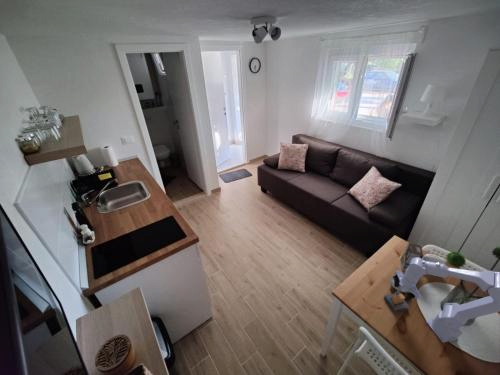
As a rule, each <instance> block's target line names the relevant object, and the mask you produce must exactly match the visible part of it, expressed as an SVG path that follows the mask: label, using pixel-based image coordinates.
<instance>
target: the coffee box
mask: <svg viewBox="0 0 500 375" xmlns="http://www.w3.org/2000/svg"><path fill="white" fill-rule="evenodd" d="M421 246H422V245H419V244H415V243H412V242H408V243H407V245H406V247H405V249H404V251H403V253H402V255H401V257H400V266H401V270H402V271H403V272H405V271H406V270H407V268H408V266H409V265H410V262H411V259H412V258H415V257H418V258H421V259H422V258H423V257H424V253H423V250H422V247H421Z"/></svg>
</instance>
